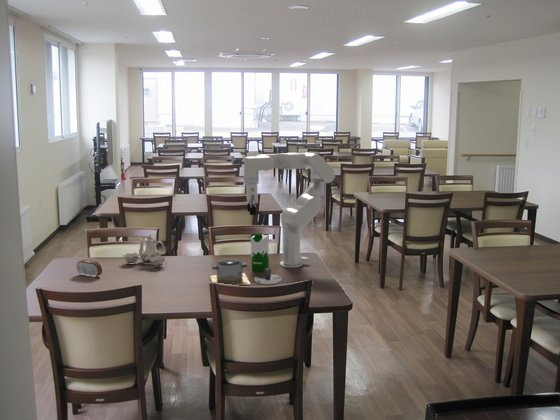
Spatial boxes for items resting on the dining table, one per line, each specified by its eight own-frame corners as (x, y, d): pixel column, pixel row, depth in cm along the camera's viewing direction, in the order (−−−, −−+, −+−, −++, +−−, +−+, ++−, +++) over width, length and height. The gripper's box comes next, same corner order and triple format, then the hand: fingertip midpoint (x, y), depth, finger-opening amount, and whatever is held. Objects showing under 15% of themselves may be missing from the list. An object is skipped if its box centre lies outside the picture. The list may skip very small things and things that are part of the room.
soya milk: (249, 270, 310) (249, 234, 306) (255, 265, 318) (255, 230, 314) (265, 271, 307) (264, 235, 303) (270, 267, 315) (270, 231, 312)
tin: (102, 277, 301) (101, 261, 300) (98, 278, 298) (97, 263, 297) (80, 273, 307) (79, 258, 306) (76, 275, 305) (75, 259, 303)
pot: (244, 274, 303) (244, 256, 301) (250, 285, 286) (250, 265, 284) (210, 277, 299) (209, 258, 297) (214, 288, 282) (213, 268, 280)
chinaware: (119, 268, 322) (115, 240, 317) (135, 257, 337) (131, 230, 332) (163, 272, 313) (160, 243, 308) (178, 261, 328) (175, 233, 324)
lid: (278, 275, 302) (278, 264, 301) (284, 283, 288) (284, 271, 287) (251, 277, 299) (251, 266, 297) (256, 286, 285) (256, 273, 284)
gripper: (261, 182, 291) (261, 216, 294) (256, 178, 308) (256, 209, 311) (246, 183, 290) (246, 216, 293) (242, 178, 307) (242, 210, 310)
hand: (251, 213), depth 302 cm, fingers open, 9 cm apart
